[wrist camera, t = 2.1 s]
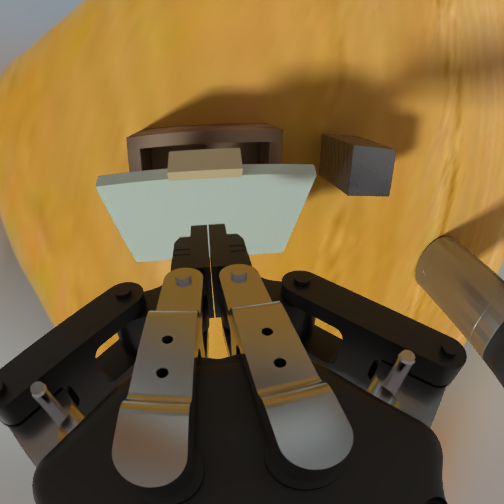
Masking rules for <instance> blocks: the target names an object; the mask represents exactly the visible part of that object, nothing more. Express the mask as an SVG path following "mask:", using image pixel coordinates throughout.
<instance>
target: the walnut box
mask: <svg viewBox="0 0 504 504" xmlns="http://www.w3.org/2000/svg"><path fill="white" fill-rule="evenodd" d="M282 134H283V130H281V129H279V128H276V127H274V126H271V125H269V124H209V125H190V126H176V127H165V128H154V129H145V130H141V131H139V132H137V133H135V134H133V135H131V136H129V137H127V150H128V161H129V171H130V172H136V171H146V170H156V169H167V168H168V157H169V152H172V151H185V150H201V149H223V148H240V151H241V159H242V164H281V159H282Z"/></svg>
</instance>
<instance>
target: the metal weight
mask: <svg viewBox="0 0 504 504" xmlns="http://www.w3.org/2000/svg"><path fill="white" fill-rule="evenodd" d="M395 154H396V150H395V149H392V148H389V147H387V146H384V145H381V144H378V143H375V142H372V141H369V140H367V139H364V138H360V137H354V136H343V135H331V134H322V143H321V157H320V169H319V175H321V176H322V177H324V178H325V179H326V180H328V181H329V182H330V183H332V184H333V185H335V186H336V187H337V188H339V189H340V190H341V191H343V192H344V193H345V194H347V195H348V196H389V194H390V188H391V182H392V175H393V169H394V161H395Z"/></svg>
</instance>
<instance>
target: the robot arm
mask: <svg viewBox="0 0 504 504" xmlns="http://www.w3.org/2000/svg"><path fill="white" fill-rule="evenodd" d="M209 244H210V258H209V245H208V231H207V225H194V226H191V235H190V237H180V238H179V239H178V240H177V241H176V242H175V243H174V249H173V256H172V264H171V272H169V273H168V274H167V275H166V276H165V278H164V281H163V285H162V286H160V287H158V288H155V289H152V290H149V291H145V292H143V288H142V287H141V286H140V285H139V284H136V283H133V282H125V283H120V284H117V285H115V286H113V287H112V288H110V289H109V290H107V291H106V292H104V293H103V294H101V295H100V296H98V297H97V298H96V299H94V300H93V301H91V302H90V303H88V304H87V305H86V306H84V307H83V308H81V309H80V310H79V311H77V312H76V313H74V314H73V315H71V316H70V317H69V318H67V319H66V320H65V321H63V322H62V323H60V324H59V325H58V326H56V327H55V328H54V329H52V330H51V331H49V332H48V333H47V334H45V335H44V336H43V337H42V338H40V339H39V340H37V341H36V342H35V343H34V344H32V345H31V346H29V347H28V348H27V349H26V350H24V351H23V352H22V353H20V354H19V355H18V356H17V357H15V358H14V359H13V360H12V361H10V362H9V363H7V364H6V365H5V366H4V367H2V368H1V369H0V421H1V422H2V423H3V424H4V425H5V426H6V427H7V428H8V429H9V430H10V431H11V432H12V433H13V434H14V436H15V438H16V439H17V441H18V442H19V444H20V445H21V447H22V448H23V450H24V451H25V453H26V454H27V455H28V457H29V458H30V460H31V461H32V462H33V464H34V465H35V466H36V471H35V473H34V477H33V485H32V486H33V495H34V500H35V503H36V504H447V502H446V500H445V497H444V491H443V482H442V465H443V454H442V448H441V445H440V442H439V440H438V438H437V436H436V435H435V433H434V432H433V431H432V430H431V429H430V427H431V425H432V422H433V420H434V417H435V415H436V412H437V410H438V407H439V404H440V402H441V399H442V396H443V394H444V391H445V390H446V389H447V387H448V386H449V385H450V383H451V382H452V381H453V379H454V378H455V377H456V375H457V374H458V372H459V371H460V370H461V368H462V367H463V365H464V364H465V362H466V358H467V356H466V351H465V349H464V347H463V346H462V345H461V344H460V343H459V342H458V341H457V340H455V339H453V338H451V337H449V336H447V335H445V334H443V333H441V332H439V331H436V330H434V329H432V328H430V327H428V326H426V325H424V324H421V323H419V322H417V321H415V320H413V319H411V318H408V317H406V316H404V315H402V314H400V313H398V312H396V311H393V310H391V309H389V308H387V307H385V306H383V305H380V304H378V303H376V302H374V301H372V300H370V299H367V298H365V297H363V296H361V295H359V294H356V293H354V292H352V291H350V290H348V289H346V288H343V287H341V286H339V285H337V284H335V283H333V282H330V281H328V280H326V279H324V278H322V277H319V276H317V275H315V274H313V273H310V272H307V271H292V272H289V273H287V274H285V275H284V276H283V278H282V282H280V281H272V280H267V279H264V278H261V277H260V275H259V273H258V271H257V270H256V269H255V268H254V267H252V265H251V262H250V258H249V255H248V252H247V249H246V246H245V242H244V239H243V238H242V237H241V236H240V235H238V234H227V233H226V228H225V224H209ZM210 260H211V271H210ZM211 273H212V284H213V294H214V304H215V314H216V317H221V319H222V331H223V336H224V340H225V345H226V349H227V353H228V357H226V358H223V359H212V358H208V350H209V331H208V328H209V318H214V310H213V298H212V285H211ZM415 276H416V280H417V283H418V284H419V285H420V286H421V287H422V288H423V289H424V290H425V291H426V292H427V294H428V295H429V296H430V297H431V298H432V299H433V300H434V302H435V303H436V304H437V305H438V306H439V307H440V308H441V309H442V310H443V312H444V313H445V314H446V315H447V316H448V317H449V319H450V320H451V321H452V322H453V323H454V324H455V326H456V327H457V328H458V329H459V330H460V332H461V333H462V334H463V335H464V336H465V338H466V339H467V340H468V341H469V342H470V344H471V345H472V346H473V347H474V349H475V350H476V351H477V352H478V354H479V355H480V356H481V358H482V359H483V360H484V361H485V362H486V364H487V365H488V366H489V368H490V369H491V370H492V372H493V373H494V374H495V376H496V377H497V379H498V380H499V382H500V383H501V384H502V386H503V387H504V281H503V280H502V279H501V278H500V277H499V276H498V275H497V274H496V273H495V272H494V271H492V270H491V269H490V268H489V267H488V266H487V265H485V264H484V263H483V262H482V261H481V260H480V259H478V258H477V257H476V256H475V255H473V254H472V253H471V252H470V251H468V250H467V249H466V248H465V247H463V246H462V245H461V244H459V243H458V242H457V241H455V240H454V239H453V238H451V237H449V236H444V237H440V238H438V239H436V240H435V241H434V242H432V243H431V244H430V245H429V246H428V247H427V248H426V249H425V251H424V252H423V254H422V255H421V257H420V259H419V261H418V264H417V267H416V274H415ZM315 318H318V319H320V320H322V321H324V322H325V323H327V324H329V325H331V326H333V327H335V328H337V329H338V330H339V331H340V332H341V334H342V337H343V340H342V339H340V338H338V337H336V336H334V335H333V334H331V333H329V332H327V331H325V330H323V329H321V328H319V327H318V326H316V325H314V323H315ZM116 333H118V336H119V340H118V341H117V342H115V343H114V344H113V345H112V346H111V347H109V348H108V349H107V350H106V351H105V352H103V353H102V354H101V355H100V356H99V357H97V358H95V355H96V351H97V349H98V348H99V347H100V346H101V345H102V344H103V343H105V342H106V341H107V340H108V339H109V338H111V337H112V336H113V335H114V334H116Z"/></svg>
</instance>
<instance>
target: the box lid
mask: <svg viewBox="0 0 504 504" xmlns="http://www.w3.org/2000/svg"><path fill="white" fill-rule="evenodd" d="M316 175H317V173H316V170H315V167H314V164H242V159H241V151H240V148H223V149H201V150H185V151H172V152H169V157H168V168H167V169H156V170H146V171H136V172H127V173H119V174H111V175H103V176H98V179H97V183H96V189H97V191H98V193H99V195H100V197H101V198H102V200H103V202H104V204H105V206H106V208H107V210H108V212H109V214H110V216H111V218H112V219H113V221H114V223H115V225H116V227H117V229H118V230H119V232H120V234H121V236H122V237H123V239H124V241H125V243H126V244H127V246H128V248H129V250H130V251H131V253H132V255H133V256H134V258H135V260H136V262H145V261H160V260H172V256H173V249H174V243H175V242H176V241H177V240H178V239H179V238H180V237H190V235H191V226H194V225H207V231H208V245H209V257H210V244H209V224H225V228H226V233H227V234H238V235H240V236H241V237H242V238H243V239H244V242H245V246H246V249H247V252H248V255H252V254H267V253H282V252H283V251H284V249H285V247H286V245H287V242H288V240H289V238H290V235H291V233H292V231H293V229H294V226H295V224H296V222H297V220H298V217H299V215H300V213H301V210H302V208H303V206H304V203H305V201H306V199H307V196H308V194H309V192H310V189H311V187H312V185H313V182H314V180H315V178H316Z"/></svg>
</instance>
